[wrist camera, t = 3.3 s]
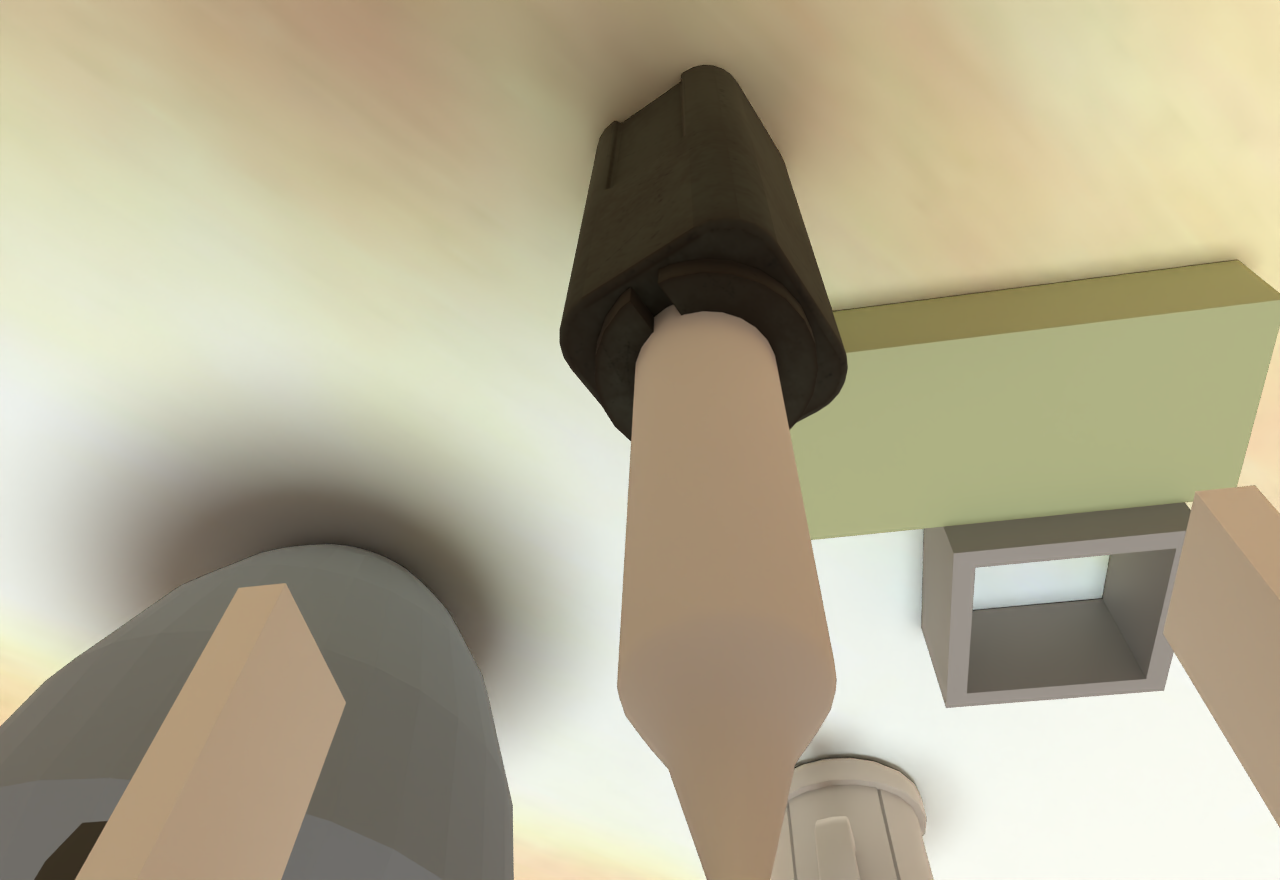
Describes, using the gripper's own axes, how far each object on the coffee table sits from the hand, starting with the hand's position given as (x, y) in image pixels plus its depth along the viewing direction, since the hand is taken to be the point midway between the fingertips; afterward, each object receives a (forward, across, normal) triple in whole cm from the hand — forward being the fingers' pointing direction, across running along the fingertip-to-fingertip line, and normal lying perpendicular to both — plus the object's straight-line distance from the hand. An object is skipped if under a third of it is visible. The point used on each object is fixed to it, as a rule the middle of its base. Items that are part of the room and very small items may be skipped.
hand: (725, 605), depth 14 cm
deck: (+20, +9, -14) cm, 26 cm away
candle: (+20, 0, 0) cm, 20 cm away
